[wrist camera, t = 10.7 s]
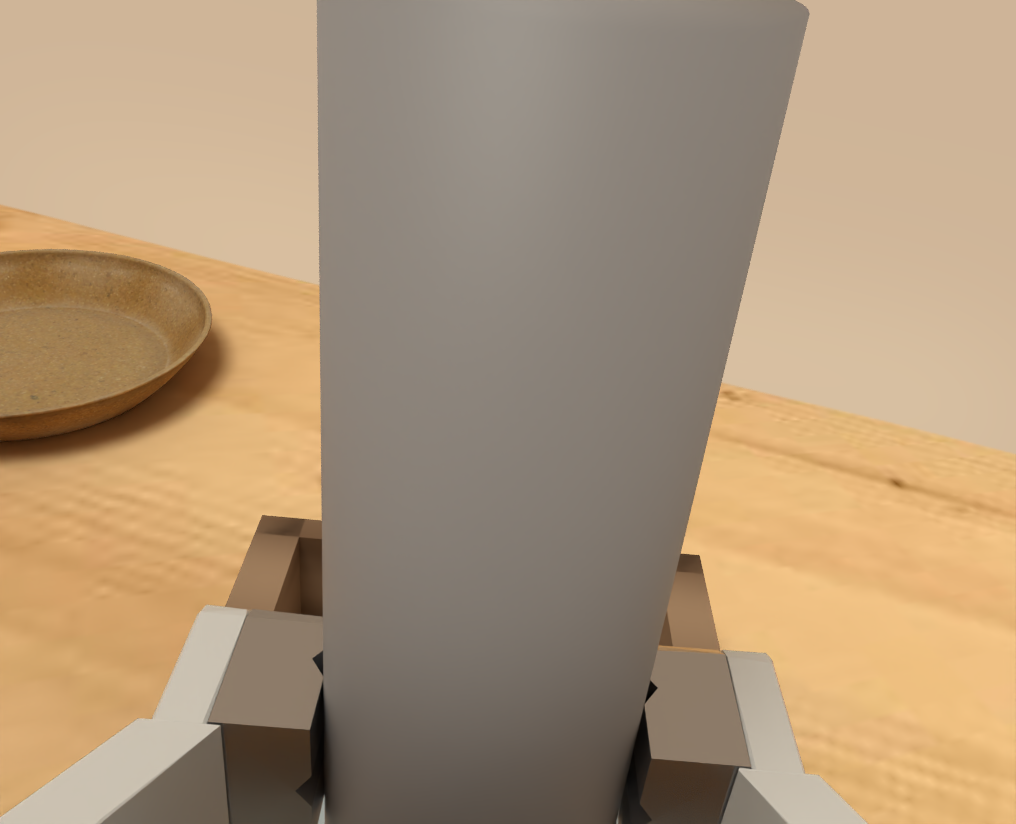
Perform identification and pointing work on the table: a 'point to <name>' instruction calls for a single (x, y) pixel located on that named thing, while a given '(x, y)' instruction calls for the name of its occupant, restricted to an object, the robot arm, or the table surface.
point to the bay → (298, 589)
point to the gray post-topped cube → (521, 376)
